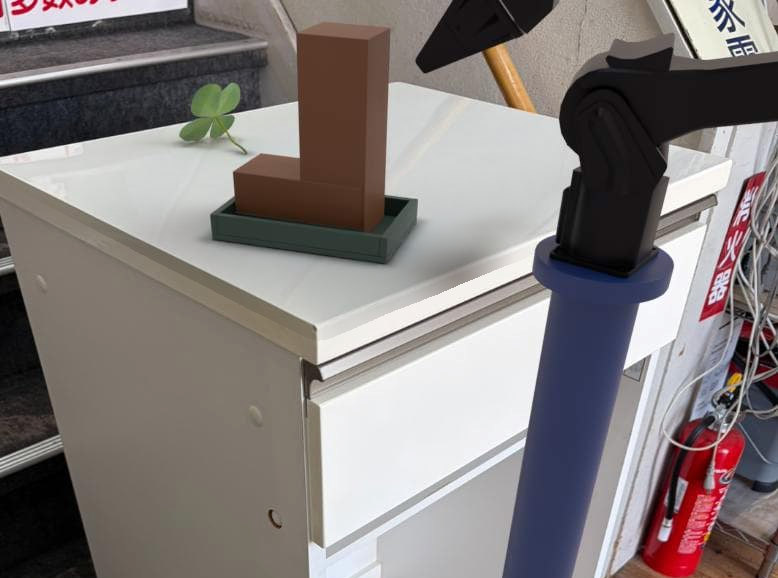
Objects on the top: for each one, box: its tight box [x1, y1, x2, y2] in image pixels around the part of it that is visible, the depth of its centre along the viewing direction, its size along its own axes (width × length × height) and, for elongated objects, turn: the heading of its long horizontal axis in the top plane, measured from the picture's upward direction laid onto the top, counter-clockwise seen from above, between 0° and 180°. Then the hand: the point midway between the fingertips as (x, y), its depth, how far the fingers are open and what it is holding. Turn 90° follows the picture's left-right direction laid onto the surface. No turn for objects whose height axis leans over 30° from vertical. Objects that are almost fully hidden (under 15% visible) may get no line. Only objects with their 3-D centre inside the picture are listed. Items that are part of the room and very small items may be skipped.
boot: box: [232, 21, 392, 233], centre depth 66 cm, size 11×6×14 cm, turn 72°
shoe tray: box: [209, 194, 419, 264], centre depth 69 cm, size 15×10×2 cm, turn 74°
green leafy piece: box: [178, 82, 248, 155], centre depth 86 cm, size 7×8×6 cm
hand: (435, 54), depth 59 cm, fingers open, 9 cm apart
